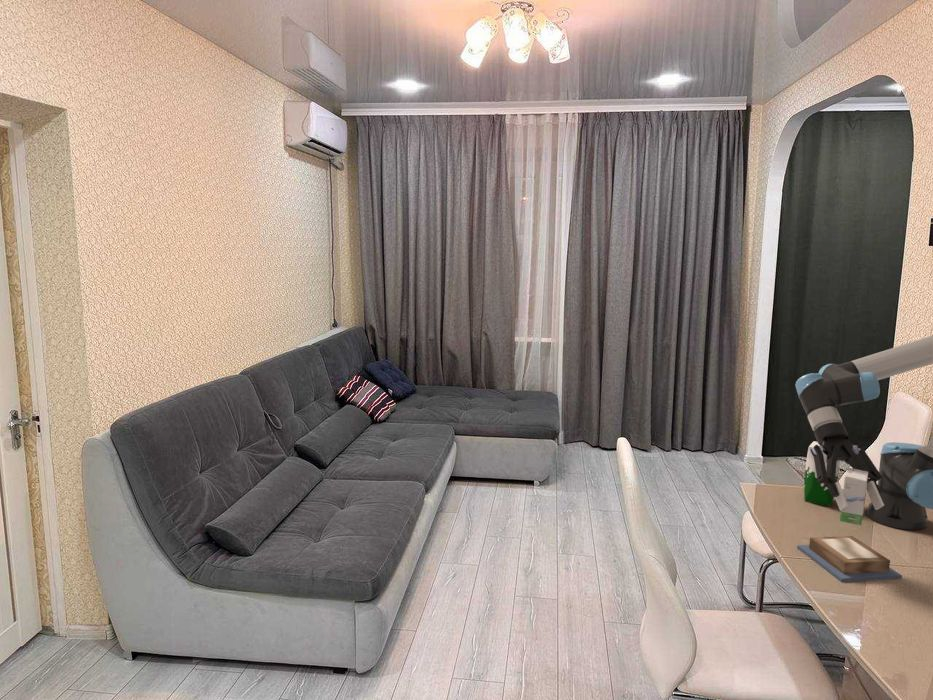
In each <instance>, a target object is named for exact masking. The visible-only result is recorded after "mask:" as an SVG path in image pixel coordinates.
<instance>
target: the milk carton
mask: <svg viewBox="0 0 933 700" xmlns="http://www.w3.org/2000/svg"><path fill="white" fill-rule="evenodd" d="M815 445H818V446H820V445H819V444H818V442H817V440H816V441H812V443H810V445H809V446H808V449H807V455H806V461H805V469H804V470H805V471H804V472H805V473H804V481H803V482H804V483H803V489H804V490H803V493H804V496H803V497H804V499H803V500H804V502H808V503H812V504H815V505H821V506H826V507H830V506H831V505H832V503H833V502H834V500H835V497H832V495H831V493H830V490H829V488H828V487H825V486H824V484H823V483H822V484H820V483H819V482H818V479H817V473H816V468H815V462H814V457H813V455H812V453H811V451H810V450H811V449H812V448H813V447H814V446H815ZM823 456H824V462H825V467H826V470H827V463H826V458H827V455H826V454H824V453H823ZM839 470H840V460H838V461H837V463H836V476H835V483H836V482H839V481H838V479H839Z"/></svg>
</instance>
